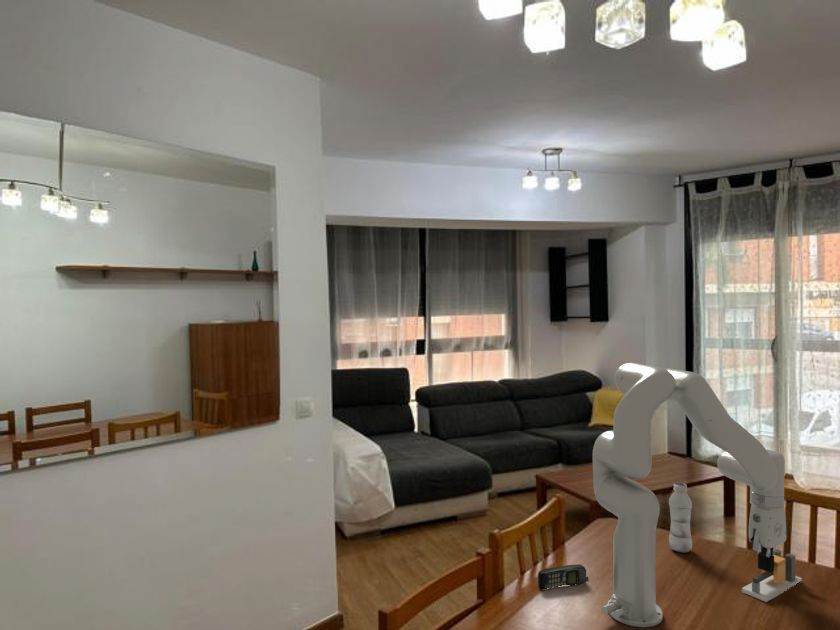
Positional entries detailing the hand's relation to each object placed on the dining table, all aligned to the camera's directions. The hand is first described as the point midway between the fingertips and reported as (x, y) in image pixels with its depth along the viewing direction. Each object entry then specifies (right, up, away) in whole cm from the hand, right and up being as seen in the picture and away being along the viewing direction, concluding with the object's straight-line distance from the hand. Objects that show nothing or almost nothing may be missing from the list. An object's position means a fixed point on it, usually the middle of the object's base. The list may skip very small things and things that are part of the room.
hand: (765, 569), depth 147 cm
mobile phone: (-51, -7, +5) cm, 51 cm away
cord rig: (+3, -5, +2) cm, 6 cm away
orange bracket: (+3, -3, +2) cm, 5 cm away
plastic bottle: (-11, -5, +24) cm, 27 cm away
